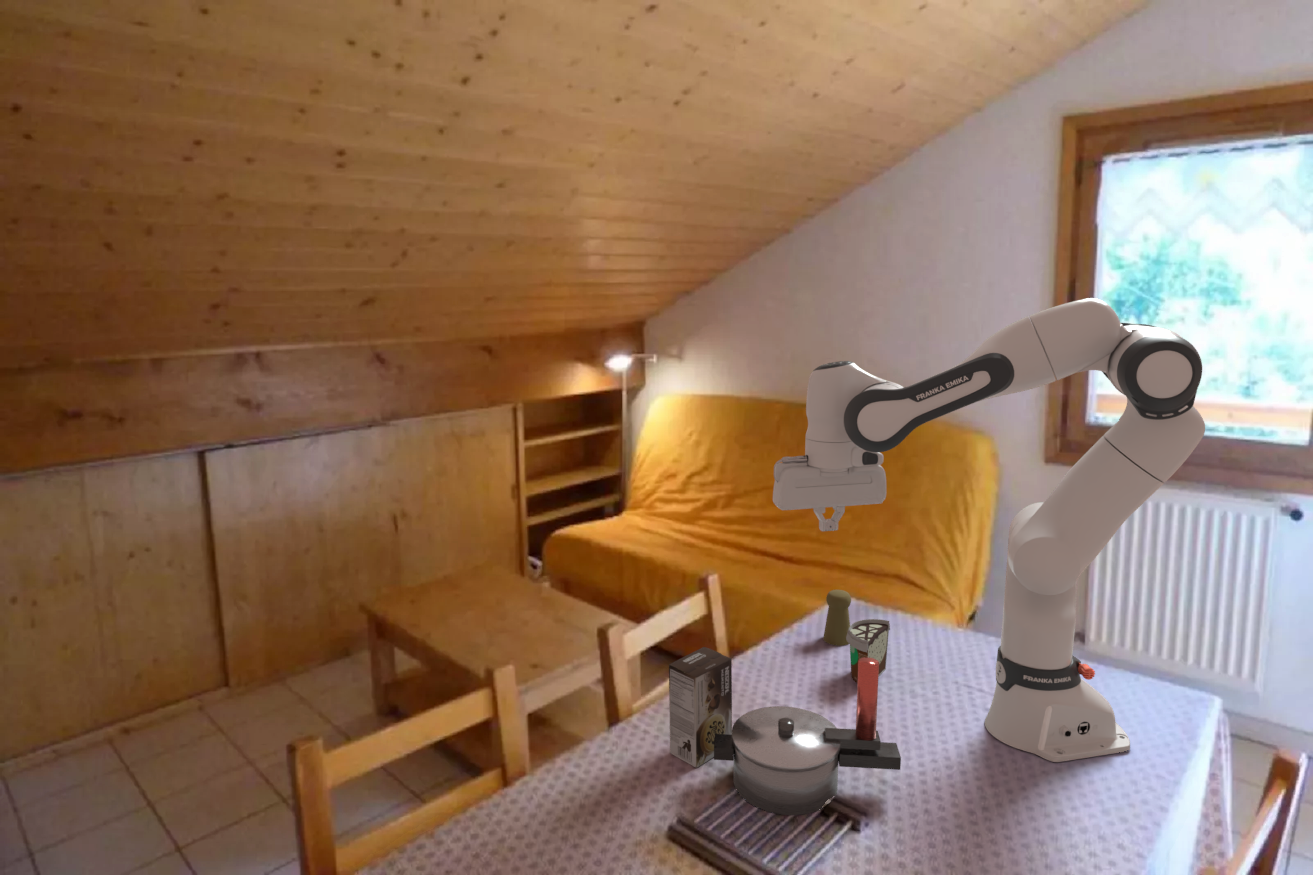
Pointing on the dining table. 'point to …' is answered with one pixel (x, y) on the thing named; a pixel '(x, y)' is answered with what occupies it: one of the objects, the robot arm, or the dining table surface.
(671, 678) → the coffee box
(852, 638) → the food container
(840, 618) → the cork
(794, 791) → the pot
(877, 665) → the lid
